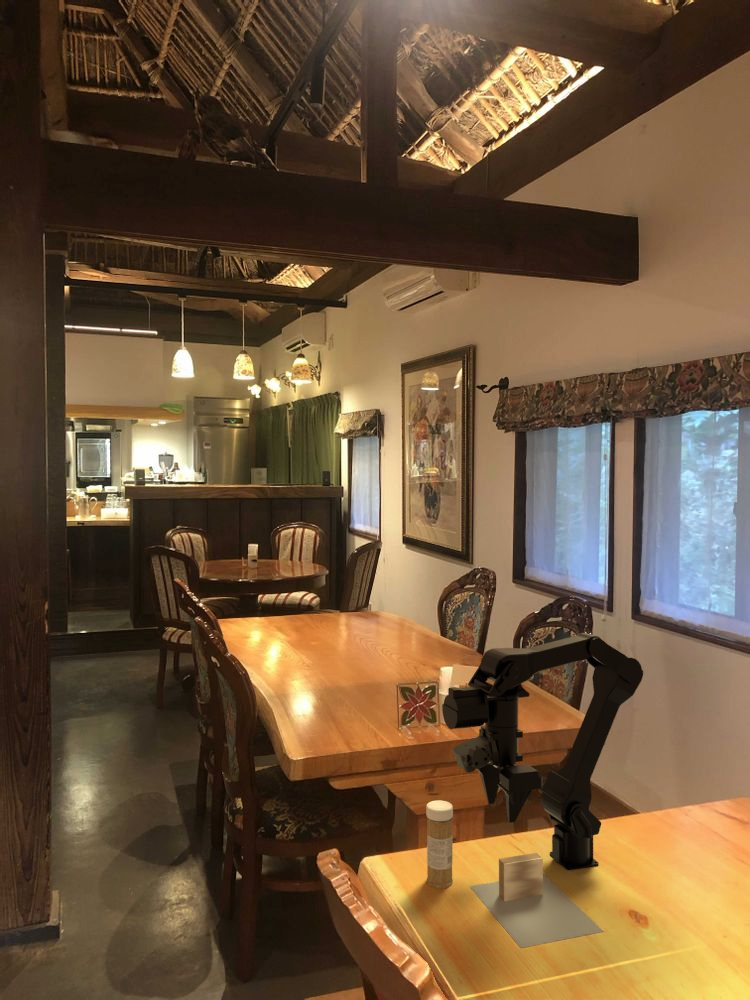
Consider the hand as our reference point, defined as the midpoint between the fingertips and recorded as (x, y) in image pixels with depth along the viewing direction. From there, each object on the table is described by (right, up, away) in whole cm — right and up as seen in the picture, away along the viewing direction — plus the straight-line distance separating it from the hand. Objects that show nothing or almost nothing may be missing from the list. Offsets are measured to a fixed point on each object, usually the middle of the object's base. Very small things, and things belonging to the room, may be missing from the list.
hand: (501, 812), depth 128 cm
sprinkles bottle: (-11, -11, -2) cm, 16 cm away
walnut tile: (+2, -11, -7) cm, 13 cm away
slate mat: (+3, -11, -11) cm, 16 cm away
